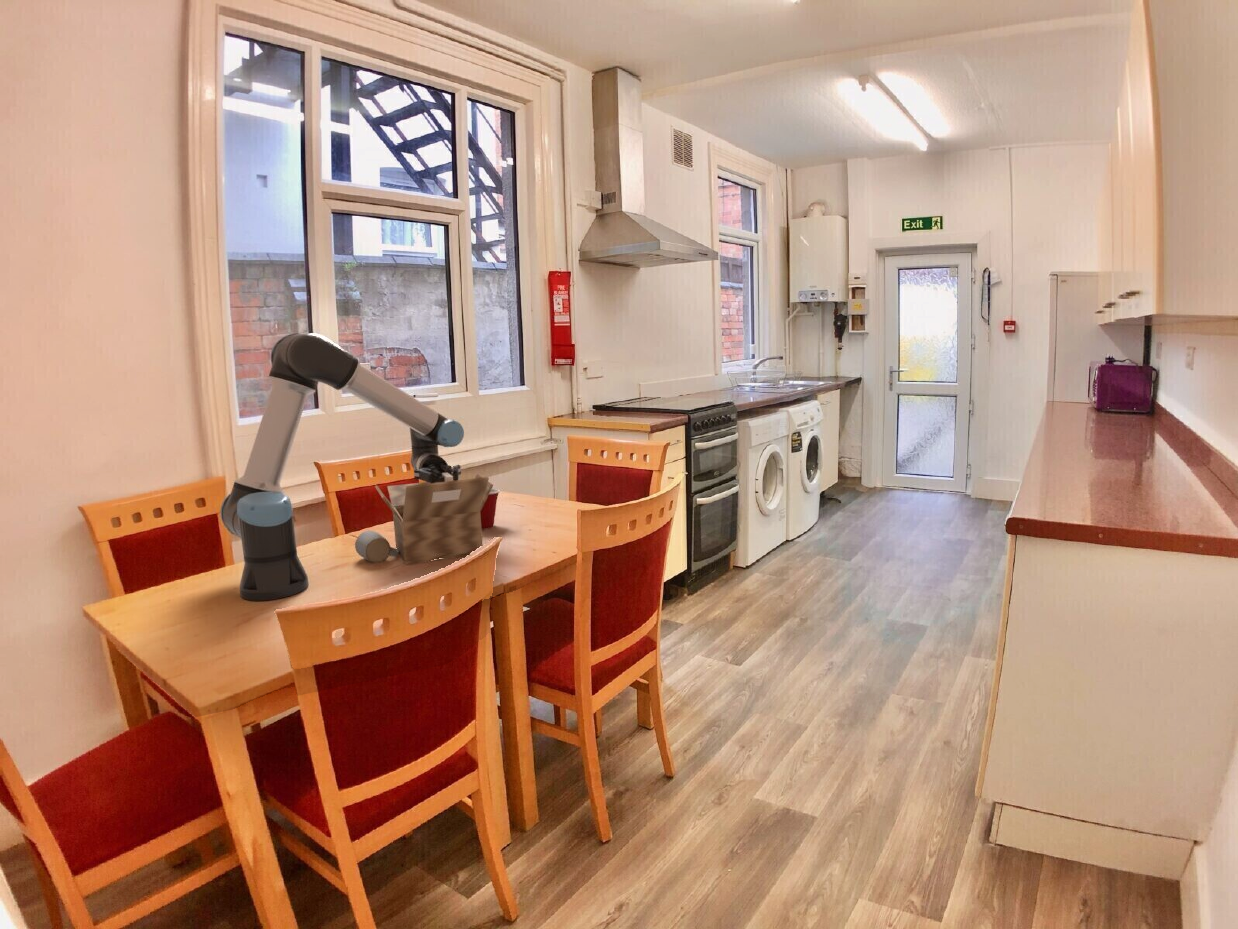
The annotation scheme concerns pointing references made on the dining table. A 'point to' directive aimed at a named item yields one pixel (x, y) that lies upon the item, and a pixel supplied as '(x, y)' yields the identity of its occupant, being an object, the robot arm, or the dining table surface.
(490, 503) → the plastic cup
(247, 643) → the dining table surface
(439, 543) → the shipping carton
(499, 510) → the dining table surface
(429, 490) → the carton flap
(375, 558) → the ceramic mug
